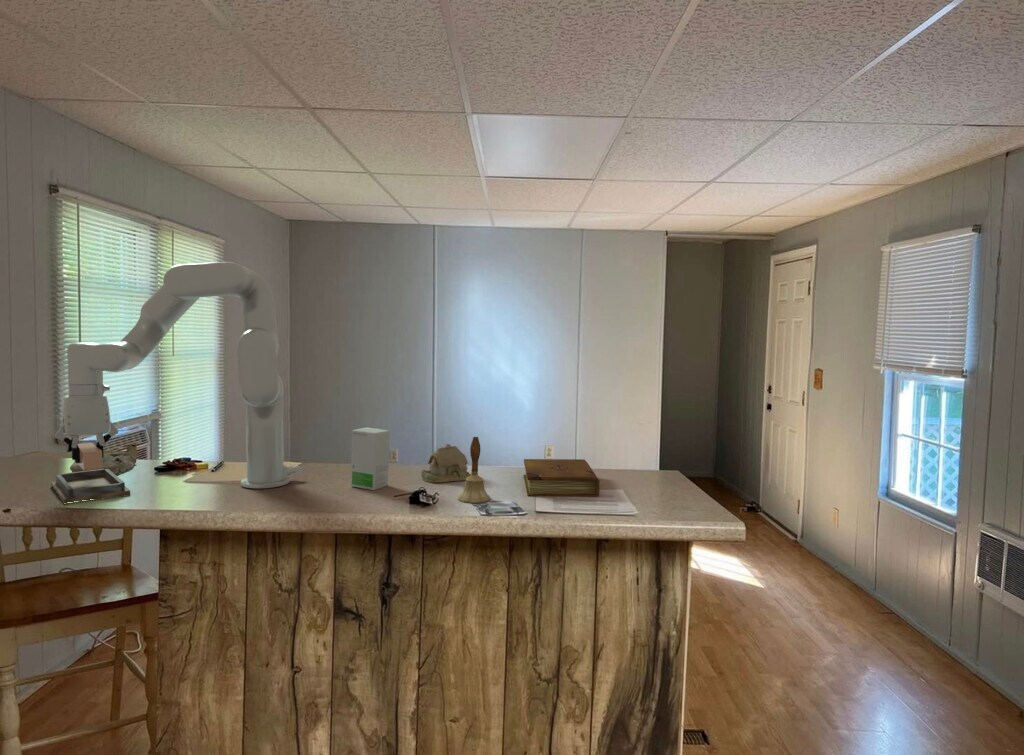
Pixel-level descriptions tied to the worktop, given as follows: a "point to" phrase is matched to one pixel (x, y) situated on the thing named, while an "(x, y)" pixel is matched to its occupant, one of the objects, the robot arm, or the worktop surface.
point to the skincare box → (370, 458)
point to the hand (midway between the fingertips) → (88, 460)
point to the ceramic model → (446, 465)
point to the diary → (560, 478)
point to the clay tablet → (112, 462)
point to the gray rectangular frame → (89, 485)
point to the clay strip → (90, 456)
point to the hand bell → (474, 479)
